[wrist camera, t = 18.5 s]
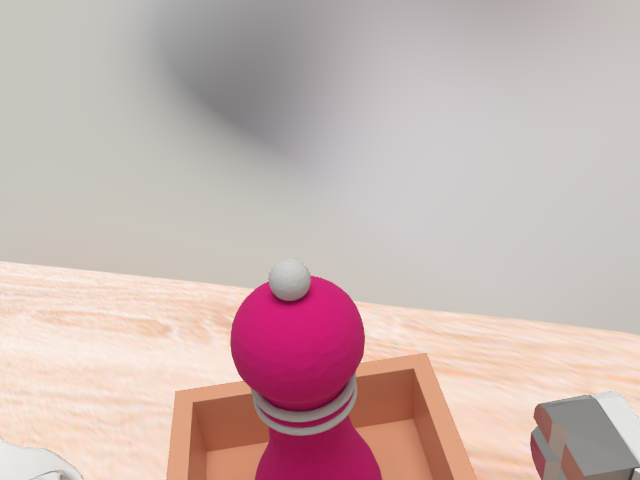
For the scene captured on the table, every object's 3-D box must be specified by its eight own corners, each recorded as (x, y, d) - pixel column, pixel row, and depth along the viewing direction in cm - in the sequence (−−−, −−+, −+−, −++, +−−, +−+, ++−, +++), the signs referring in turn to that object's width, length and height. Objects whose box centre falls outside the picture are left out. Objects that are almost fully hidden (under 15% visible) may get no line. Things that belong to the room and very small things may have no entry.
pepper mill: (371, 615, 31) (352, 332, 20) (245, 582, 33) (167, 307, 22) (395, 495, 37) (390, 223, 26) (287, 472, 39) (240, 211, 28)
